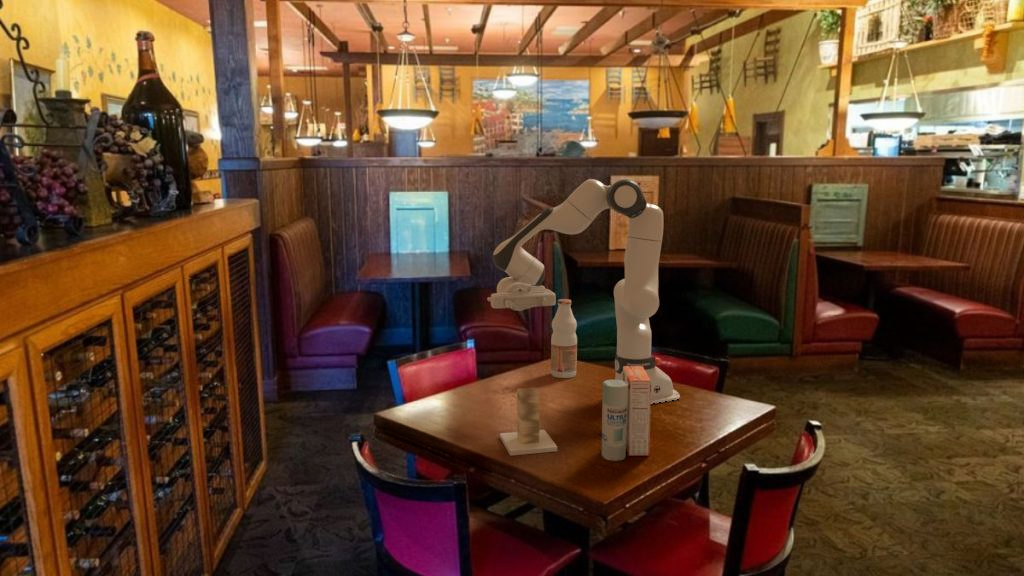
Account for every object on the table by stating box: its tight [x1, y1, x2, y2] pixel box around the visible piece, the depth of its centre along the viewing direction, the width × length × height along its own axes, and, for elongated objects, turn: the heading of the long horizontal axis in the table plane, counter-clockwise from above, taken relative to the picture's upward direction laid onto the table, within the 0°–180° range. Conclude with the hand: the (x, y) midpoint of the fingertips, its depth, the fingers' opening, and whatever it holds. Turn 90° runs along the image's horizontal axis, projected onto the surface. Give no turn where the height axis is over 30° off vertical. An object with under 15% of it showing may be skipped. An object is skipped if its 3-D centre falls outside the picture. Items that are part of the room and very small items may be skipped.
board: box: [499, 429, 558, 456], centre depth 194 cm, size 13×13×1 cm
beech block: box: [516, 387, 540, 444], centre depth 193 cm, size 5×5×14 cm
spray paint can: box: [601, 379, 628, 462], centre depth 185 cm, size 6×6×20 cm
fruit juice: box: [550, 298, 578, 379], centre depth 257 cm, size 9×9×28 cm
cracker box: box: [623, 366, 651, 457], centre depth 191 cm, size 14×6×21 cm, turn 178°
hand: (528, 304), depth 211 cm, fingers open, 8 cm apart
